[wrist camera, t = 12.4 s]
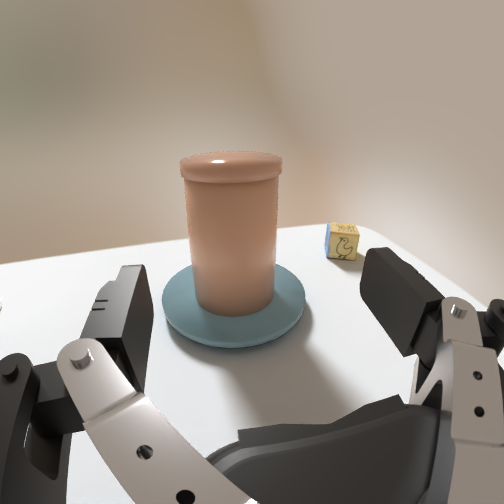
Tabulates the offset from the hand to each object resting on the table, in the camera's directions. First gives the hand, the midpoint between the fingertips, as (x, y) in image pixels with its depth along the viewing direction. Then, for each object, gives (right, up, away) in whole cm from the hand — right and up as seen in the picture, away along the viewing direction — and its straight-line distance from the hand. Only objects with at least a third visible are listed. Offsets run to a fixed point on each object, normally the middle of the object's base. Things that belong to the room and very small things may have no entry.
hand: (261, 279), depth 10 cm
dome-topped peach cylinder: (-2, -2, +12) cm, 13 cm away
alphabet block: (+9, +1, +21) cm, 23 cm away
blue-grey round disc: (-2, -3, +13) cm, 14 cm away
